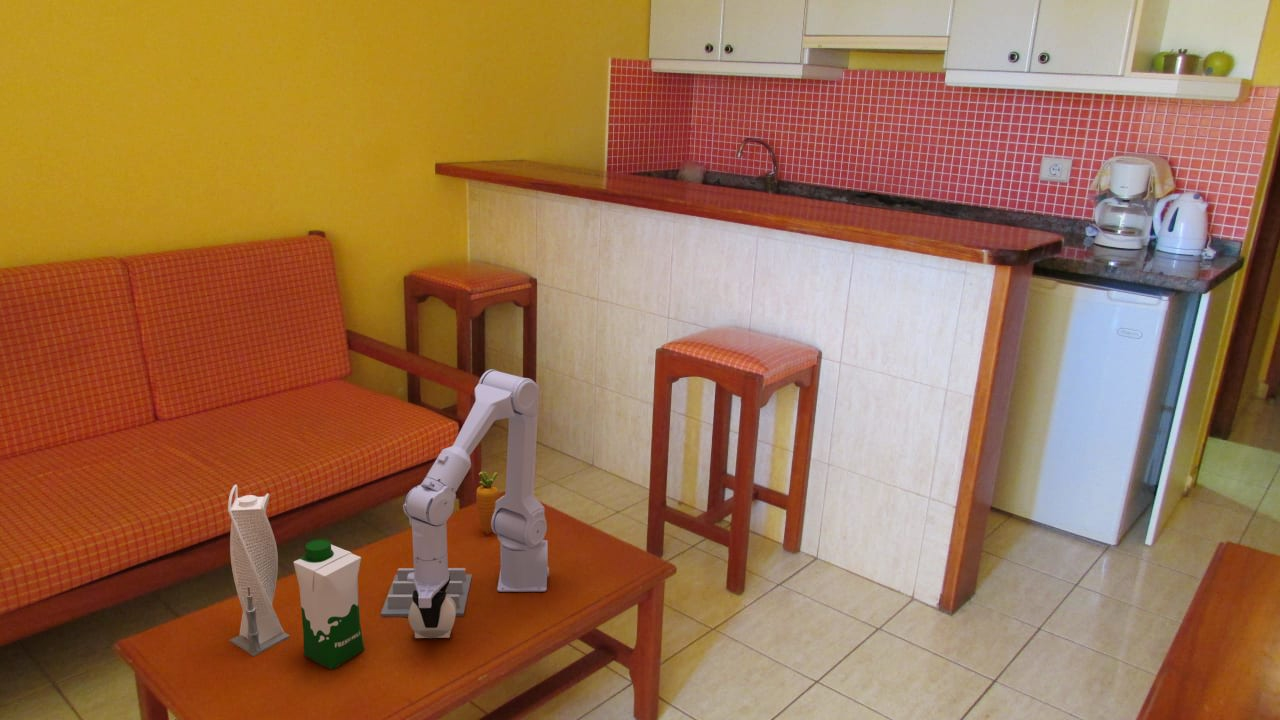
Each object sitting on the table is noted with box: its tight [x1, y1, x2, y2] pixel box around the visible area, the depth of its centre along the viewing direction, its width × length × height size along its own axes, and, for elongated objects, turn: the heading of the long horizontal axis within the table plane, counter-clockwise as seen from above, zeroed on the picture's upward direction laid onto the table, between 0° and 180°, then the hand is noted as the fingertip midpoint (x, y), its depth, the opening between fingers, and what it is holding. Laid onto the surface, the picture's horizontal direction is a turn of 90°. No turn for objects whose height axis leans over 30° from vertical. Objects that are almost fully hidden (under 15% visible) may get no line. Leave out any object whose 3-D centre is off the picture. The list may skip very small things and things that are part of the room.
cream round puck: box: [407, 591, 457, 639], centre depth 157 cm, size 8×2×8 cm, turn 94°
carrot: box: [475, 471, 500, 535], centre depth 194 cm, size 5×5×15 cm
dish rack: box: [380, 567, 473, 618], centre depth 171 cm, size 15×14×3 cm
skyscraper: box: [227, 483, 291, 657], centre depth 153 cm, size 8×8×28 cm
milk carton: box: [293, 538, 365, 671], centre depth 150 cm, size 9×9×20 cm
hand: (432, 621), depth 158 cm, fingers closed on cream round puck, 2 cm apart
